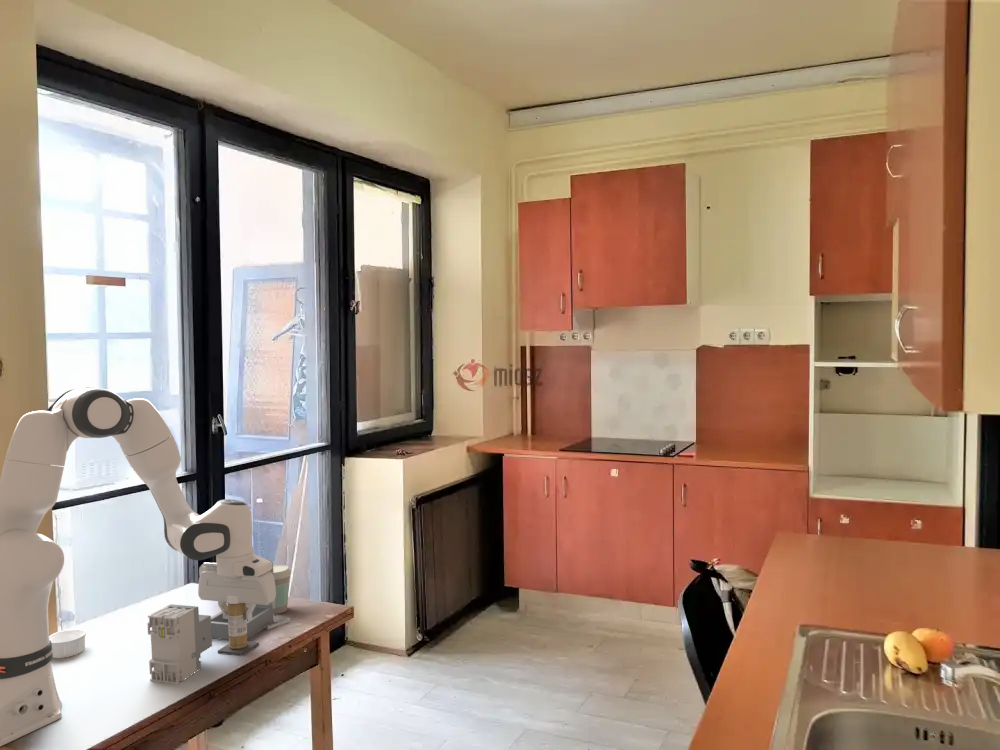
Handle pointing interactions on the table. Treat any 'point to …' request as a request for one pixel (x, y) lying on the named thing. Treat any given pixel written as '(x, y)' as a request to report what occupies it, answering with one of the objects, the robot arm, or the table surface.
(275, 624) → the rod
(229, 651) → the pad
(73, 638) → the ramekin
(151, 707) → the table surface
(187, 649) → the circuit breaker
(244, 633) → the sprinkles bottle
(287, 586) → the coffee cup
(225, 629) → the case
